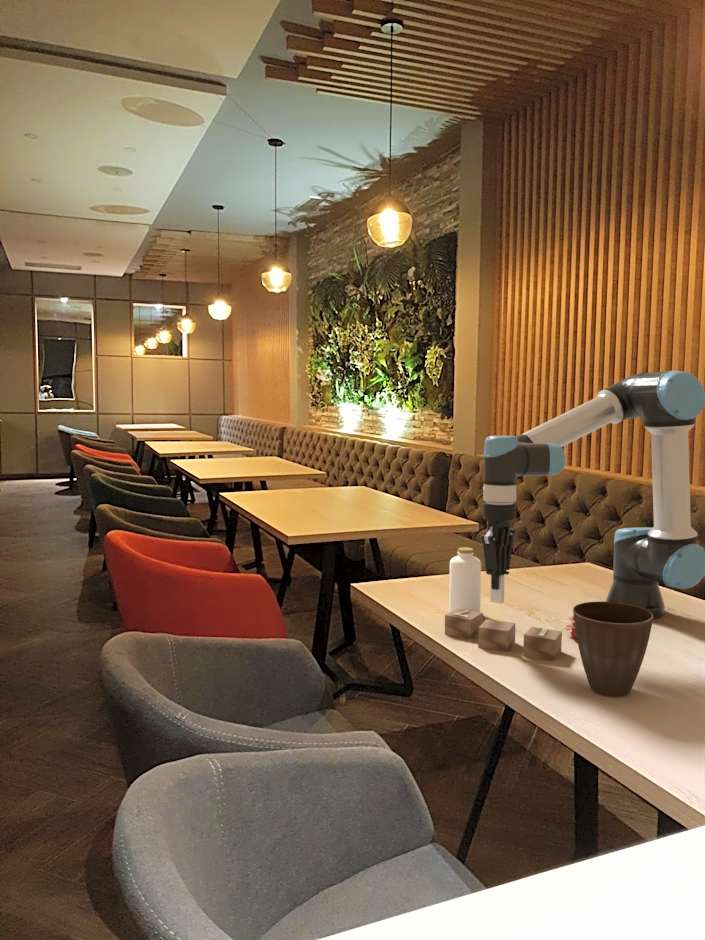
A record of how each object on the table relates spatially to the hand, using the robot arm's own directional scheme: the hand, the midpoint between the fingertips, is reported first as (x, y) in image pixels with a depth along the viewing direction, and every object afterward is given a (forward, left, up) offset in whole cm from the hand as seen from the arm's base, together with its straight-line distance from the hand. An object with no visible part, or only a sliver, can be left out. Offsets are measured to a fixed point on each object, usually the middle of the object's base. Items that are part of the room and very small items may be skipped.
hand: (497, 601), depth 173 cm
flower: (-17, -15, -11) cm, 25 cm away
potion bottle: (+15, -20, -11) cm, 27 cm away
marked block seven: (+10, -5, -11) cm, 15 cm away
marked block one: (-11, +1, -11) cm, 15 cm away
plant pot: (-28, +16, -11) cm, 34 cm away
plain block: (0, 0, -11) cm, 11 cm away
